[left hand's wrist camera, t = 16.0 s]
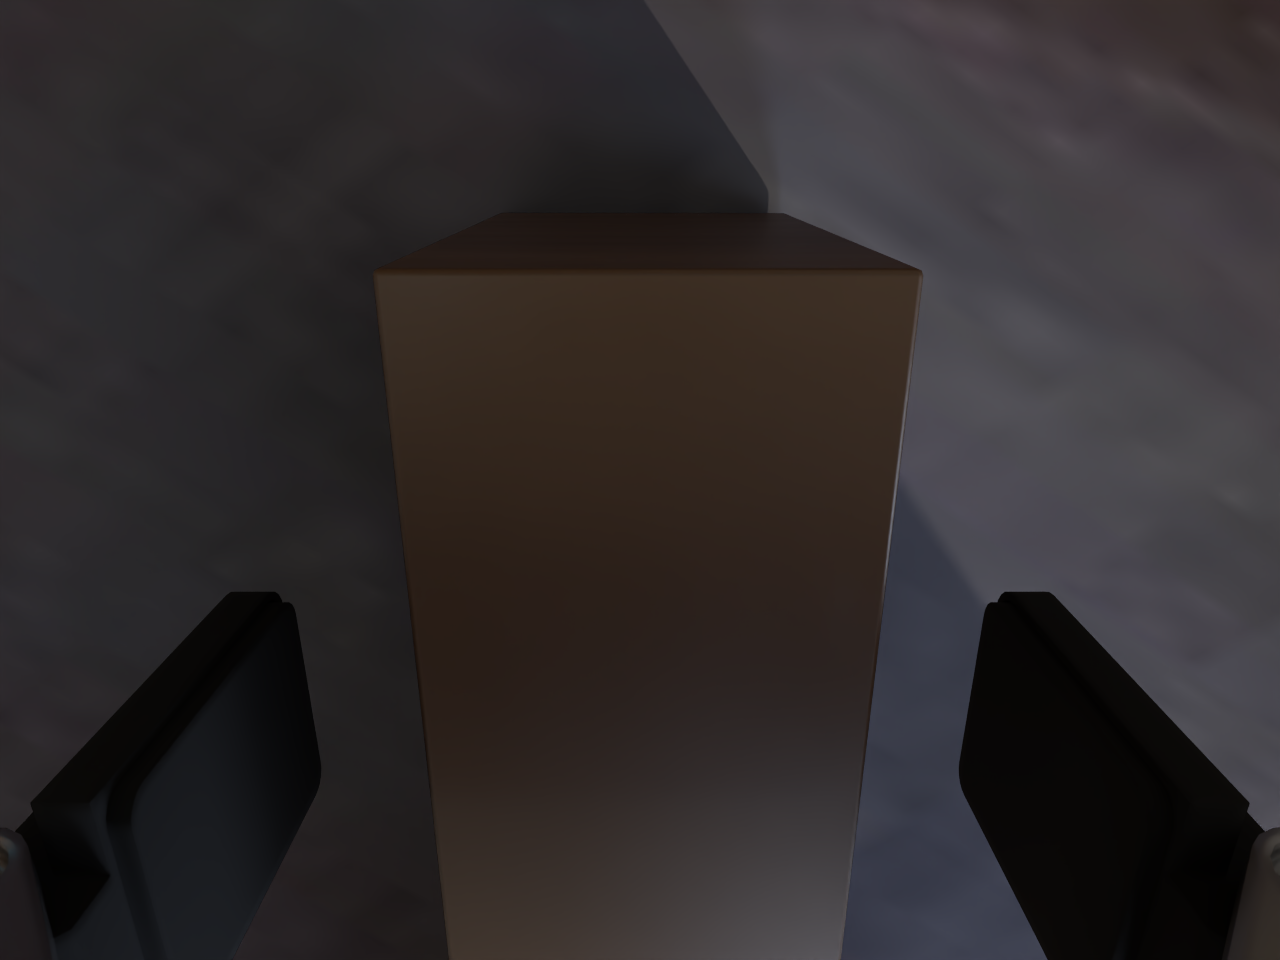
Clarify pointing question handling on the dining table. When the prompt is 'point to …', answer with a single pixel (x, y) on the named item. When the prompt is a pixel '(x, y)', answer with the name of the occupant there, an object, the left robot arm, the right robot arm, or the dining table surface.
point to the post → (646, 571)
